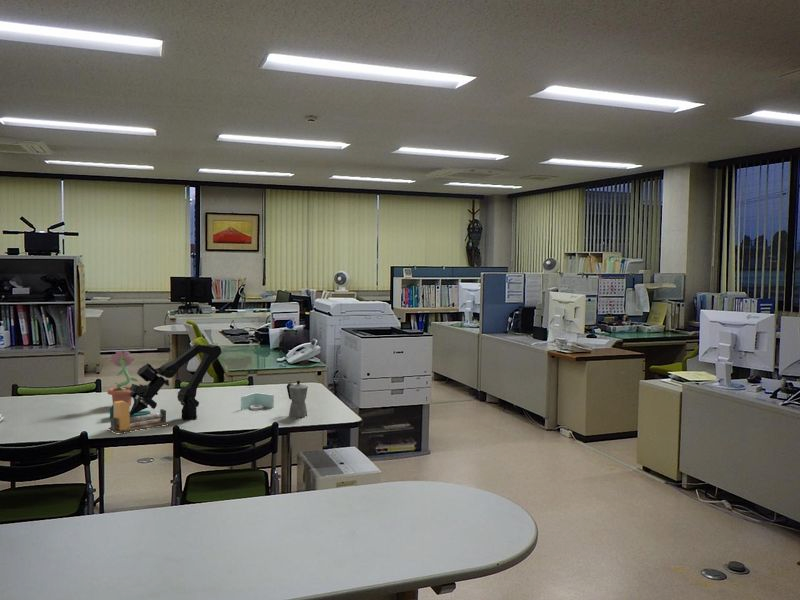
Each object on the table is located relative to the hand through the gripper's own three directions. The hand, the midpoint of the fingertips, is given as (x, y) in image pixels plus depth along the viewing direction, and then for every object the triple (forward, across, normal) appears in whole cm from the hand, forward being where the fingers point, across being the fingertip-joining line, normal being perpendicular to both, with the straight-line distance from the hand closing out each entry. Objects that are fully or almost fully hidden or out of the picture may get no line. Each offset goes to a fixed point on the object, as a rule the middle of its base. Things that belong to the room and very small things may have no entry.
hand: (130, 414), depth 289 cm
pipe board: (+2, 0, +8) cm, 8 cm away
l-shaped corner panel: (-40, +5, +51) cm, 65 cm away
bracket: (-1, -20, +11) cm, 23 cm away
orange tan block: (+7, 0, +1) cm, 7 cm away
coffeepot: (-45, +30, +56) cm, 78 cm away
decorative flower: (-5, -44, +15) cm, 46 cm away
